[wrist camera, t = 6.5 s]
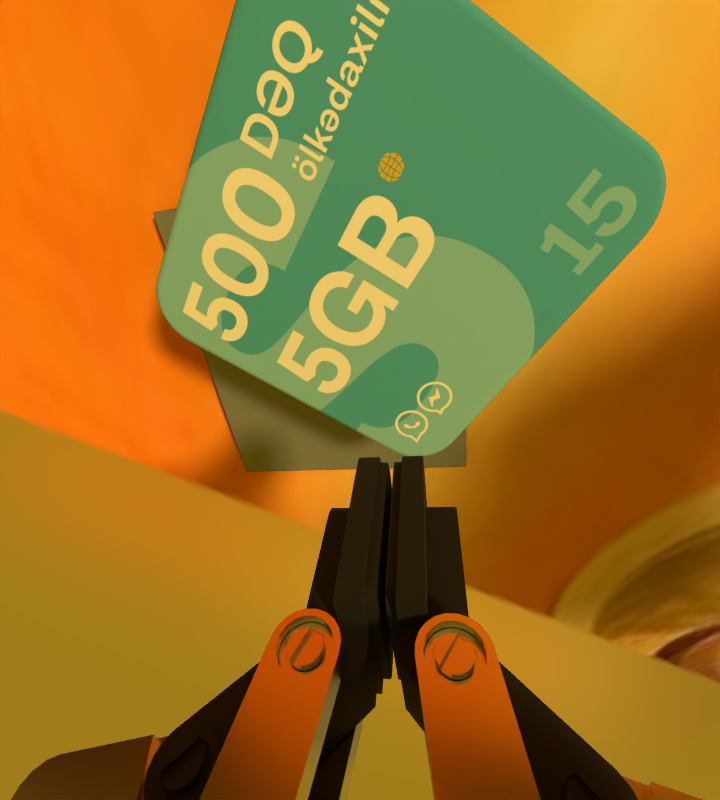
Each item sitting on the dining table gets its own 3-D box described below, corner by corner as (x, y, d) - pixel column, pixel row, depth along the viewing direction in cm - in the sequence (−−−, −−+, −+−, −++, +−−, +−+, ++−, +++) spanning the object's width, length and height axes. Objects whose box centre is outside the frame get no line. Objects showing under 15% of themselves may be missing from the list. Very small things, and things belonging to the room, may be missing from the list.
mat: (464, 166, 15) (465, 167, 15) (465, 460, 22) (466, 466, 22) (159, 211, 17) (152, 212, 17) (249, 466, 24) (246, 471, 24)
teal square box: (427, 472, 16) (142, 320, 14) (425, 411, 20) (200, 283, 18) (702, 181, 10) (276, -160, 8) (625, 171, 14) (320, -64, 12)
